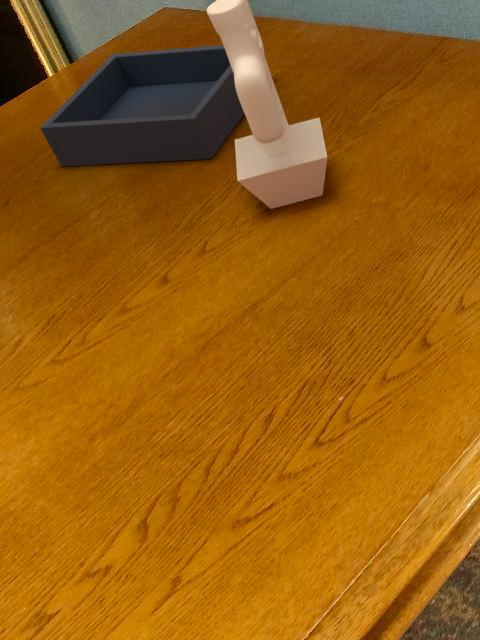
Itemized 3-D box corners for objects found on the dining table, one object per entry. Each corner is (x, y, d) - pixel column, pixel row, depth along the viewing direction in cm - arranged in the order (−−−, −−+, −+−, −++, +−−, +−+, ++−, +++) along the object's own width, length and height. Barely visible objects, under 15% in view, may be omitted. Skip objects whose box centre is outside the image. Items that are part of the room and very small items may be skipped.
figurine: (255, 229, 80) (176, 37, 69) (250, 174, 86) (177, -10, 75) (342, 205, 80) (278, 11, 69) (331, 152, 87) (270, -34, 75)
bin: (61, 166, 93) (39, 127, 90) (129, 91, 102) (112, 53, 99) (211, 159, 89) (194, 118, 86) (268, 81, 98) (255, 42, 96)
